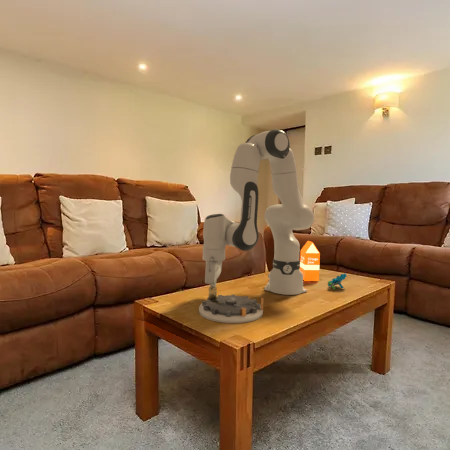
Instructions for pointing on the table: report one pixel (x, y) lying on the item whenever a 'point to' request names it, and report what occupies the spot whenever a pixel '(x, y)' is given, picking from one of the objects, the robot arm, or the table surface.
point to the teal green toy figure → (337, 281)
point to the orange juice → (310, 262)
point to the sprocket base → (232, 318)
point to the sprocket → (229, 304)
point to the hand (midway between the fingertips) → (213, 289)
